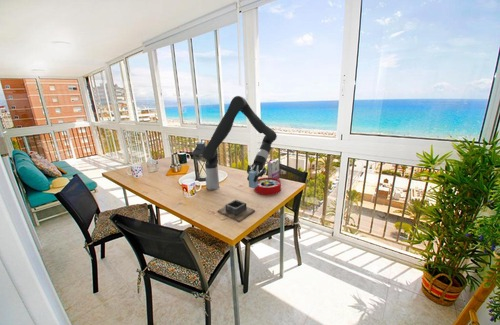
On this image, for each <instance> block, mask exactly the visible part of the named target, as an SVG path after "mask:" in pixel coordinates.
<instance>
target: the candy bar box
mask: <svg viewBox="0 0 500 325" xmlns="http://www.w3.org/2000/svg"><path fill="white" fill-rule="evenodd" d="M266 162H267V163H266V164H267V178H275V179H277V178H278V179H280V159H277V158H276V159H275V158H274V159H272V160H269V161H266Z"/></svg>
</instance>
